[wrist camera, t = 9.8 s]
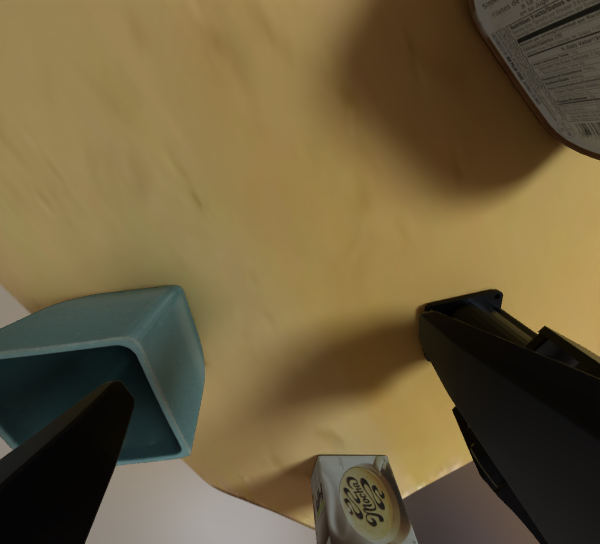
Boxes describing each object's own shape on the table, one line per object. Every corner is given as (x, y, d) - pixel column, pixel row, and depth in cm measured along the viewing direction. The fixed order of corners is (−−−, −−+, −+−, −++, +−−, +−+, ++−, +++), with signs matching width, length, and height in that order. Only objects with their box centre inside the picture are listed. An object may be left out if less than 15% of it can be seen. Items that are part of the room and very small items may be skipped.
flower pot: (79, 271, 18) (-81, 363, 10) (198, 257, 19) (134, 337, 10) (126, 360, 22) (37, 478, 14) (225, 347, 22) (193, 458, 14)
